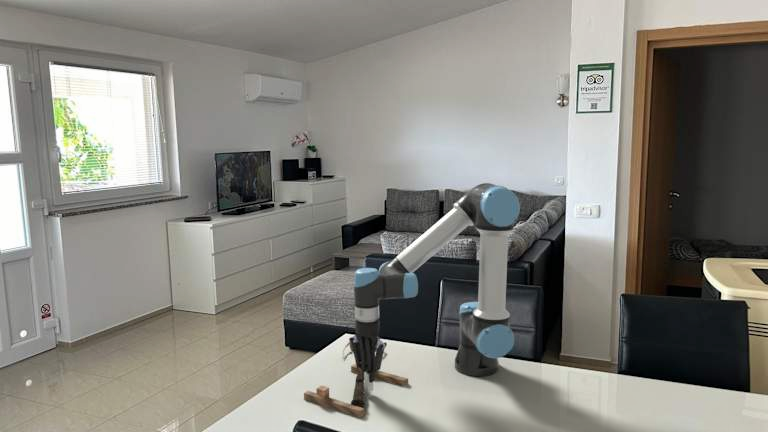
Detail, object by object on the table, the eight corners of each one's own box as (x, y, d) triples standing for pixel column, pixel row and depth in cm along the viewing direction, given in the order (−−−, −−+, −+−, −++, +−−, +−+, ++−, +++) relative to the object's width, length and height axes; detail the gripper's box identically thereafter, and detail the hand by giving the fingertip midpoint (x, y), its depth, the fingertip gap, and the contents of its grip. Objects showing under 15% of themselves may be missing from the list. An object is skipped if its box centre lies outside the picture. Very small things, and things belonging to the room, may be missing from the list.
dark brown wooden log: (364, 412, 170) (363, 397, 169) (350, 411, 170) (350, 397, 169) (369, 384, 189) (368, 370, 188) (357, 384, 189) (356, 370, 188)
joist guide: (408, 384, 187) (408, 369, 187) (360, 418, 166) (359, 401, 165) (355, 369, 200) (354, 355, 199) (303, 399, 178) (302, 384, 177)
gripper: (342, 318, 177) (345, 390, 180) (377, 325, 170) (379, 400, 173) (357, 311, 183) (359, 381, 186) (391, 318, 176) (392, 391, 179)
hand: (368, 390), depth 180 cm, fingers closed
